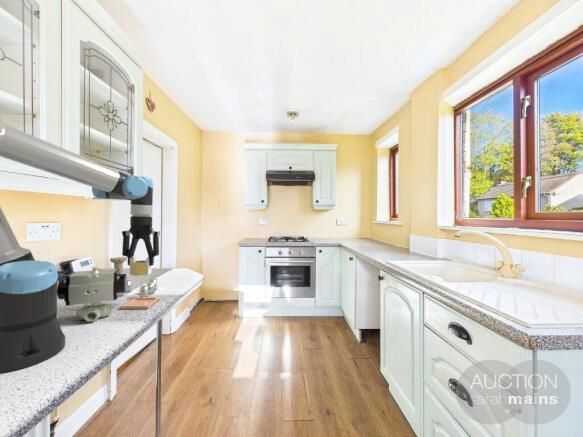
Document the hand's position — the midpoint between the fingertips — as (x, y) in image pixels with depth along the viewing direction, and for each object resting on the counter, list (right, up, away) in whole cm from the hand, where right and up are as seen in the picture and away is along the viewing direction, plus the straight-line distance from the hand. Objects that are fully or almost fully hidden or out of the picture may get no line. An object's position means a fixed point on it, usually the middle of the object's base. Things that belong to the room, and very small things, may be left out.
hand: (140, 273), depth 99 cm
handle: (-22, -12, +18) cm, 31 cm away
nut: (0, 0, 0) cm, 0 cm away
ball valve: (-8, -13, -14) cm, 20 cm away
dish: (0, -13, 0) cm, 13 cm away
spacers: (-10, -12, +12) cm, 20 cm away
